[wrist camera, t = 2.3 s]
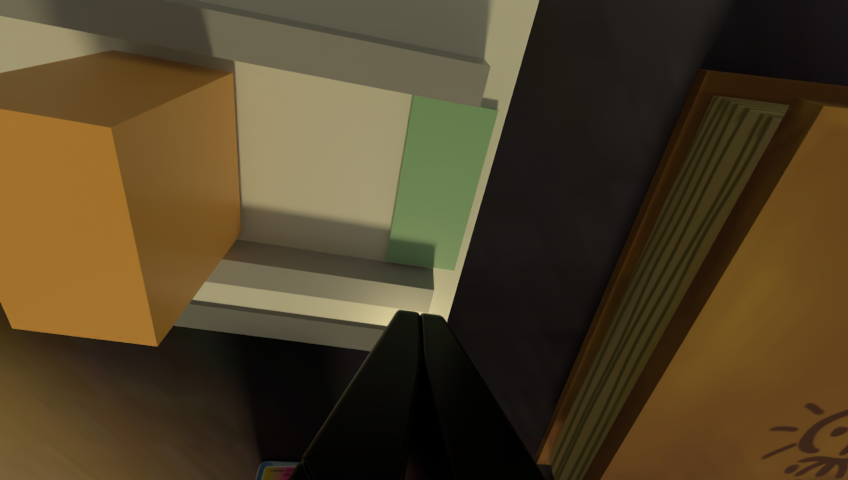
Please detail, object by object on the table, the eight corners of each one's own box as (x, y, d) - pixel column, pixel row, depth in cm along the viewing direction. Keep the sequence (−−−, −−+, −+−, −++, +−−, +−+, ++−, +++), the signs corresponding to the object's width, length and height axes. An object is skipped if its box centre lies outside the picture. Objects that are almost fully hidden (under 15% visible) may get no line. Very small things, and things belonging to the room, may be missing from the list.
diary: (806, 463, 28) (888, 566, 23) (532, 446, 26) (557, 551, 22) (1171, 120, 15) (1519, 185, 11) (692, 65, 14) (832, 108, 9)
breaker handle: (145, 218, 13) (12, 328, 9) (113, 50, 11) (-96, 92, 6) (241, 232, 13) (157, 346, 9) (233, 72, 11) (111, 128, 7)
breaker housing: (15, 223, 17) (-94, 287, 13) (-134, -166, 11) (-407, -240, 7) (440, 286, 19) (444, 357, 15) (520, -19, 13) (558, -21, 9)
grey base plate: (38, 284, 19) (11, 304, 18) (-208, -358, 9) (-302, -410, 8) (427, 336, 20) (427, 358, 19) (556, -159, 11) (572, -176, 10)
